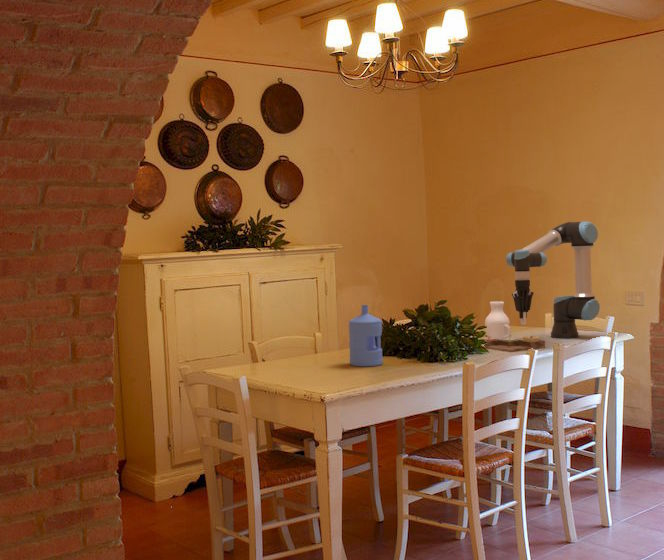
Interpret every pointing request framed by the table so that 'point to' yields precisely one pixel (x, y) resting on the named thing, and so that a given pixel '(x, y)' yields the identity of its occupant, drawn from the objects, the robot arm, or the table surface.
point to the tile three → (531, 339)
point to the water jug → (365, 340)
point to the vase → (496, 316)
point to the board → (514, 345)
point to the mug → (499, 330)
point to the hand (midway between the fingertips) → (523, 324)
